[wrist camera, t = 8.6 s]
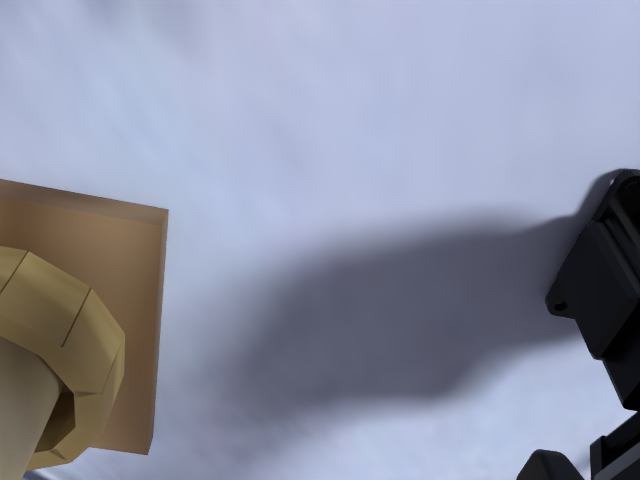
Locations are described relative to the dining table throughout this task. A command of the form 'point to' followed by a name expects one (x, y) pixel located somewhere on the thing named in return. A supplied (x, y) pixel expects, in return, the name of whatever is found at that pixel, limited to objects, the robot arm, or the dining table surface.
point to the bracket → (85, 312)
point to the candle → (23, 405)
